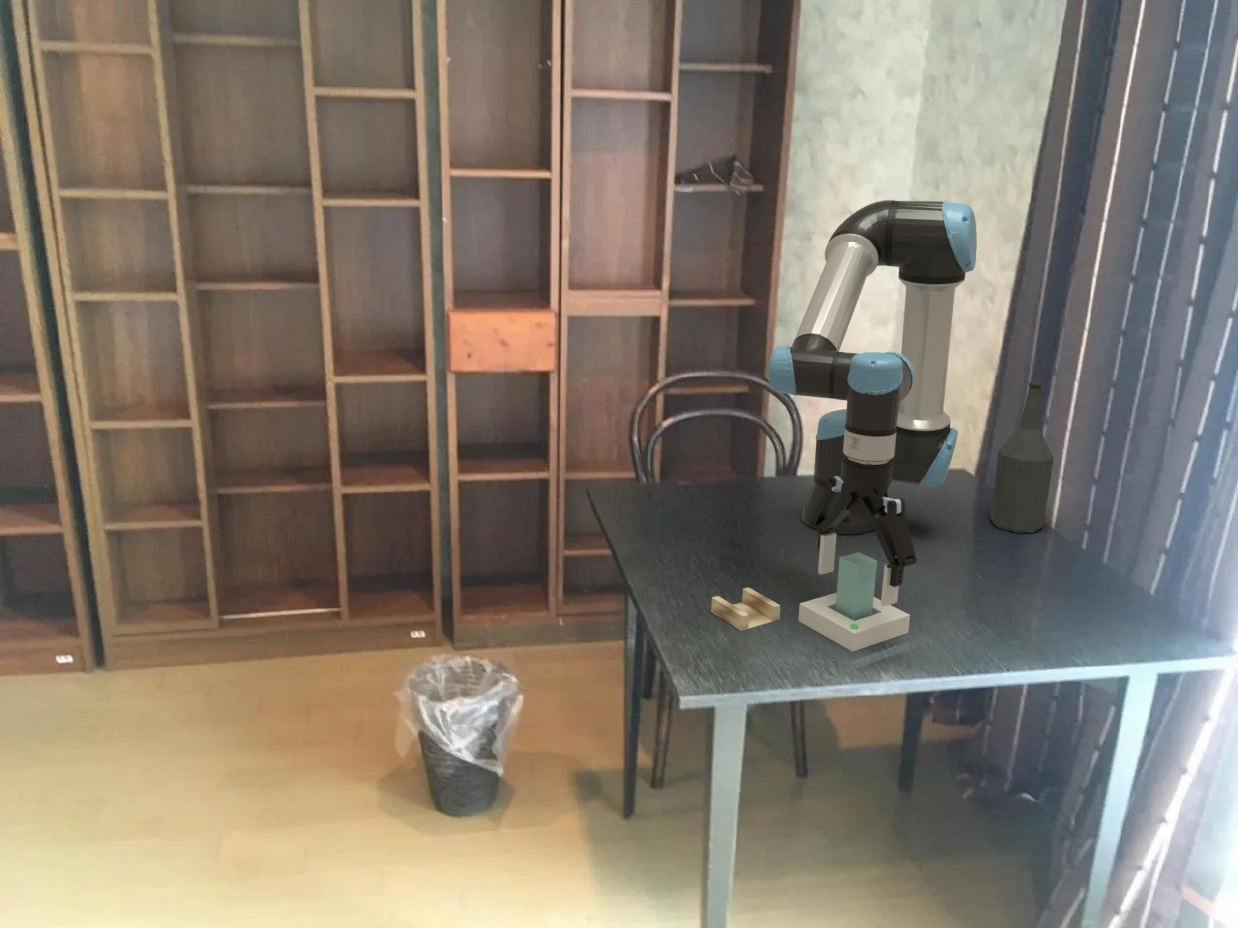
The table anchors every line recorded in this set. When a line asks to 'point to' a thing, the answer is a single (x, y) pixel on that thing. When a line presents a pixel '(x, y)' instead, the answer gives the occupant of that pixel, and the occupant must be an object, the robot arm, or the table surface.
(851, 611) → the plug
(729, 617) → the wooden cradle
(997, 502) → the bottle
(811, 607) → the frame
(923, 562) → the table surface
